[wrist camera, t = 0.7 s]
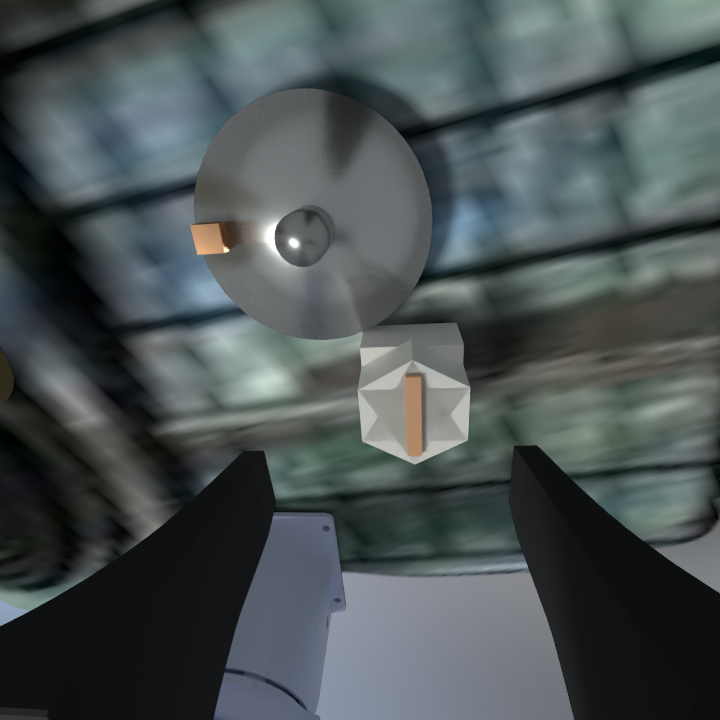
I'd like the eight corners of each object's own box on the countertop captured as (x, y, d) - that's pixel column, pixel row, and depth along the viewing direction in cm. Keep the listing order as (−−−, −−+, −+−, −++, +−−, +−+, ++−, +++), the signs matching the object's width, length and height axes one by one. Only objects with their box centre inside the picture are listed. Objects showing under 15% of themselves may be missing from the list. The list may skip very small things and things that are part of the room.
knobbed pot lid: (431, 327, 20) (436, 357, 17) (230, 335, 21) (204, 364, 18) (430, 78, 15) (438, 62, 13) (177, 104, 17) (131, 95, 14)
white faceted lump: (454, 406, 22) (467, 467, 18) (370, 408, 22) (364, 467, 18) (456, 315, 20) (472, 360, 15) (363, 319, 20) (354, 364, 16)
